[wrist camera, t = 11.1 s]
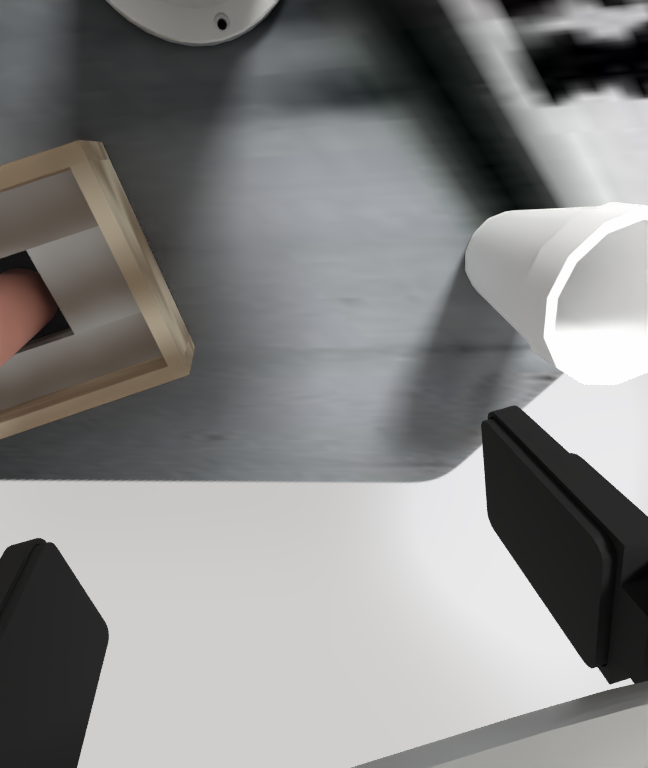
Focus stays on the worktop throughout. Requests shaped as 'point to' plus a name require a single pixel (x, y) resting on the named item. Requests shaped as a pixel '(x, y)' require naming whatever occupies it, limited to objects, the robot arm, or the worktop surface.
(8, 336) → the peg
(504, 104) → the worktop surface
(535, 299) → the foam cup
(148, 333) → the box
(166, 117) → the worktop surface
